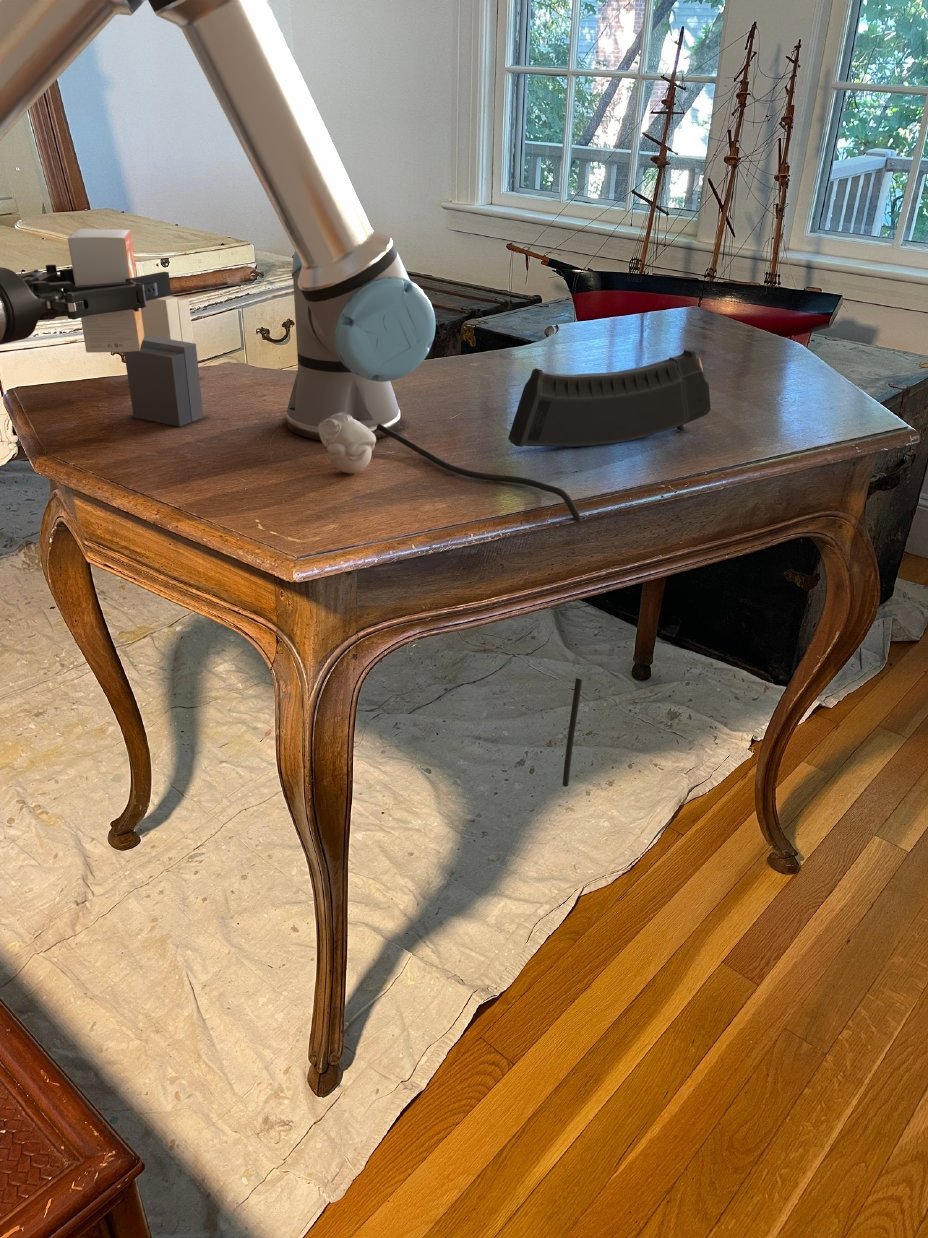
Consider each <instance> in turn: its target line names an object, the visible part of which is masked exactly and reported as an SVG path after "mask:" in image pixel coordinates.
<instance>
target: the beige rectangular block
mask: <svg viewBox="0 0 928 1238" xmlns="http://www.w3.org/2000/svg"><path fill="white" fill-rule="evenodd" d="M189 299H190V298H186V297H179V296H172V295H171V296H167V297H162V298H158V299H153V300H149V301H146V307H144V308H141V315H142V322H143V329H144V337H147V336H153V337H159V338H165V339H171V340H177V341H183V342H189V343H194V337H193V325H192V317H191V308H190V300H189Z"/></svg>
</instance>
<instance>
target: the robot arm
mask: <svg viewBox="0 0 928 1238" xmlns="http://www.w3.org/2000/svg"><path fill="white" fill-rule="evenodd" d="M146 1H148V3H149V5H150V7H151V9H152V11H153V12H154V14H155V16H156V17H158V18H159V19H160V18H161V20H165V21H167V22H169V23H172V24H173V25H176V26H177V27H178V28H179V29H180V30H181V31H182V34H183V35H184V38H185V40H186V41H187V43H188V45H189V47H190V49H191V51H192V53H193V55H194V57H195V59H196V61H197V63H198V64H199V67H200V68H201V70H202V73H203V74H204V76H205V78H206V80H207V82H208V85H209V86H210V88H211V90H212V91H213V93H214V95H215V98H216V100H217V101H218V103H219V106H220V107H221V109H222V111H223V113H224V115H225V117H226V119H227V121H228V123H229V125H230V126H231V129H232V131H233V133H234V134H235V137H236V138H237V141H238V142H239V144H240V146H241V148H242V150H243V152H244V154H245V156H246V158H247V160H248V162H249V165H250V166H251V167H252V169H253V172H254V173H255V175H256V177H257V179H258V181H259V183H260V185H261V187H262V189H263V191H264V192H265V194H266V196H267V198H268V200H269V202H270V204H271V206H272V209H273V210H274V212H275V215H276V216H277V218H278V220H279V222H280V224H281V226H282V227H283V230H284V232H285V234H286V235H287V238H288V239H289V241H290V243H291V245H292V247H293V250H294V252H293V254H292V255H293V256H292V269H291V278H292V283H293V300H294V319H295V320H294V321H295V338H296V355H297V356H296V357H297V371H296V374H295V379H294V383H293V386H292V389H291V393H290V397H289V400H288V404H287V408H286V424H287V427H288V429H289V430H290V431H291V432H293V433H294V434H296V435H298V436H301V437H303V438H306V439H307V438H308V439H311V440H317V441H322V440H321V438H320V435H319V429H318V425H319V424H320V423H321V422H323V420H325V419H328V418H329V417H330V416H332V415H334V414H337V413H346V414H349V415H350V416H352V418H353V419H355V420H357V421H359V422H360V423H361V424H363V425H365V426H366V427H367V428H368V429H369V430H370V431H371V432H372V433H373V434H374V435H375V437H376V439H380V438H383V437H386V436H388V437H390V438H393V439H394V440H395V441H398V442H399V443H400V444H402V445H404V446H405V447H407V448H408V449H410V450H412V451H414V452H415V453H417V454H419V455H420V456H423V457H424V458H426V459H428V460H429V461H431V462H433V463H434V464H436V465H438V466H440V468H443V469H445V470H447V471H450V472H452V473H455V474H458V475H460V476H464V477H468V478H473V479H477V480H485V481H492V482H502V483H510V484H511V483H512V484H519V485H523V486H524V485H525V486H529V487H533V488H536V489H539V490H541V491H545V492H547V493H552V494H555V495H557V496H558V497H559V498H561V499H562V500H563V502H564V503H565V505H566V506H567V508H568V510H569V512H570V513H571V516H572V518H573V520H574V521H575V522H578V523H580V522H583V520H582V517H581V515H580V513H579V510H578V509H577V506H576V505H575V503H574V501H573V499H572V498H571V496H570V495H569V494H568V492H566V491H565V490H563V489H562V488H560V487H557V486H553V485H550V484H547V483H543V482H541V481H537V480H534V479H531V478H527V477H521V476H514V475H506V474H505V475H504V474H495V473H486V472H479V471H473V470H469V469H465V468H462V467H459V466H457V465H454V464H451V463H449V462H447V461H445V460H444V459H442V458H440V457H438V456H437V455H435V454H433V453H431V452H430V451H428V450H426V449H424V448H423V447H420V446H419V445H418V444H416V443H414V442H412V441H411V440H409V439H407V438H405V437H404V436H403V435H401V434H398V433H397V432H396V431H397V430H398V429H399V428H400V426H401V410H400V408H399V405H398V402H397V398H396V395H395V391H394V388H393V385H392V383H391V382H392V381H396V380H399V379H401V378H404V377H406V376H407V375H409V374H411V373H413V371H415V370H416V369H417V368H418V367H419V366H420V365H421V364H422V363H423V362H424V361H425V359H426V357H427V356H428V355H429V352H430V349H431V348H432V345H433V342H434V340H435V334H436V315H435V311H434V307H433V305H432V303H431V301H430V300H429V298H428V296H427V295H426V294H425V293H424V290H423V289H422V288H421V287H419V285H418V284H417V283H415V282H413V281H412V280H411V279H410V277H409V275H408V273H407V270H406V268H405V266H404V264H403V262H402V259H401V257H400V254H399V253H398V251H397V248H396V246H395V244H394V241H393V240H392V238H391V236H390V235H388V234H386V233H383V232H381V231H378V230H375V229H374V228H372V227H371V224H370V222H369V220H368V218H367V215H366V213H365V211H364V208H363V207H362V205H361V202H360V200H359V198H358V196H357V193H356V191H355V189H354V187H353V185H352V182H351V180H350V178H349V176H348V173H347V172H346V170H345V167H344V165H343V163H342V161H341V158H340V156H339V153H338V152H337V149H336V147H335V145H334V143H333V140H332V139H331V136H330V134H329V132H328V130H327V127H326V126H325V122H324V121H323V119H322V117H321V114H320V112H319V110H318V107H317V106H316V104H315V101H314V99H313V97H312V95H311V93H310V90H309V88H308V85H307V83H306V81H305V80H304V77H303V75H302V73H301V71H300V68H299V66H298V64H297V61H296V60H295V57H294V55H293V52H292V51H291V48H290V46H289V44H288V42H287V39H286V38H285V35H284V33H283V30H282V29H281V27H280V24H279V22H278V20H277V17H276V15H275V14H274V12H273V9H272V6H271V5H270V2H269V0H0V141H1V140H2V139H4V137H5V136H6V135H7V134H8V133H9V132H10V131H11V130H12V129H13V128H14V126H15V125H16V124H17V123H18V122H19V121H20V120H21V119H22V118H23V116H24V115H26V113H28V111H29V110H30V109H31V108H32V107H33V106H34V105H35V104H36V102H37V101H38V100H39V99H40V98H41V97H42V96H43V95H44V94H45V92H47V90H48V89H49V88H50V87H51V86H52V85H53V84H54V83H55V82H56V81H57V79H58V78H60V76H61V75H62V74H63V73H64V72H65V71H66V70H67V69H68V68H69V67H70V65H71V64H72V63H73V62H74V61H76V59H77V58H78V57H79V56H80V54H81V53H83V51H84V50H85V49H86V48H87V47H88V46H89V45H90V44H91V43H92V41H93V40H94V39H95V38H96V37H97V36H98V35H99V34H100V33H101V31H103V30H104V29H105V28H106V26H107V25H108V24H109V23H110V22H111V21H112V20H113V19H114V18H115V17H116V16H118V15H121V16H132V15H133V14H135V12H136V11H137V10H138V9H139V8H140V7H141V6H142V5H143V4H144V3H145V2H146ZM45 270H46V271H45V272H43V270H40V269H34V270H31V271H26V272H23V273H20V274H18V273H17V272H15V271H14V270H11V269H10V268H7V267H3V266H0V345H6V344H10V343H15V342H17V341H22V340H25V339H27V338H29V337H31V336H32V335H33V333H34V332H35V330H36V328H37V325H38V322H39V321H50V320H51V321H52V320H55V319H56V318H58V317H67V319H69V320H73V321H74V320H77V319H81V318H82V317H85V316H89V315H96V314H103V313H110V312H116V311H123V310H130V309H132V310H134V311H135V312H137V311H139V308H144V307H146V301H149V300H153V299H158V298H162V297H167V296H172V289H171V288H172V287H171V281H170V272H169V271H160V272H155V273H149V274H144V275H140V276H139V275H138V276H136V277H134V278H129V279H125V280H126V282H117V283H104V284H91V285H77V286H75V280H74V274H73V268H72V267H71V268H65V269H60V270H59V273H58V268H57V265H56V264H45ZM582 683H583V679H581V678H577V677H575V682H574V688H573V689H574V690H573V696H572V704H571V710H570V717H569V724H568V725H569V726H568V730H567V731H568V733H567V740H566V747H565V756H564V765H563V775H562V787H565V788H566V787H568V786H569V783H570V774H571V765H572V755H573V746H574V741H575V733H576V725H577V717H578V711H579V704H580V698H581V691H582Z"/></svg>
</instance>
